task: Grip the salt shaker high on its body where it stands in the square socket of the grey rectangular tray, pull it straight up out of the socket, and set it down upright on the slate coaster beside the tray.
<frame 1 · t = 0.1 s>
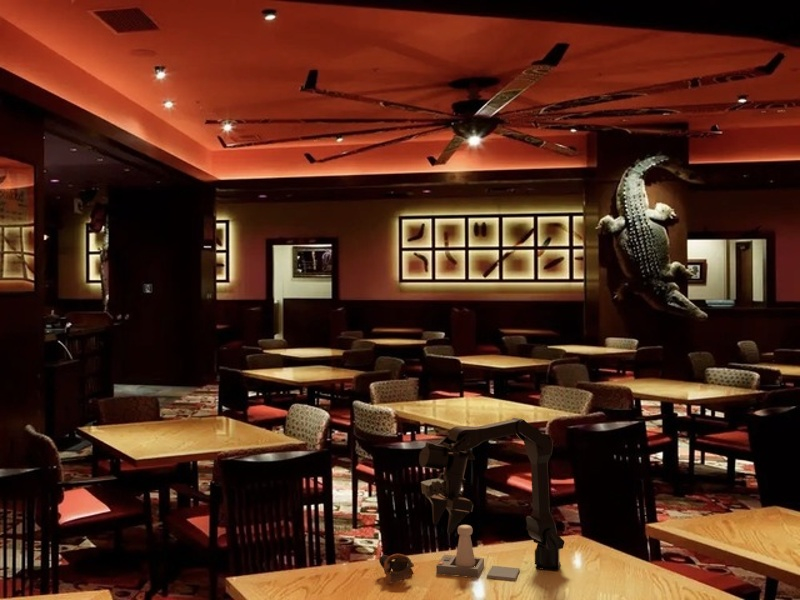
hand: (442, 528, 218), 15 cm above the table, tool pointing down, fingers open, 9 cm apart
pottery mug: (396, 580, 222), on the table
grey rectangular tray: (460, 570, 229), on the table
salt shaker: (465, 571, 229), resting in grey rectangular tray
slate coaster: (503, 574, 225), on the table
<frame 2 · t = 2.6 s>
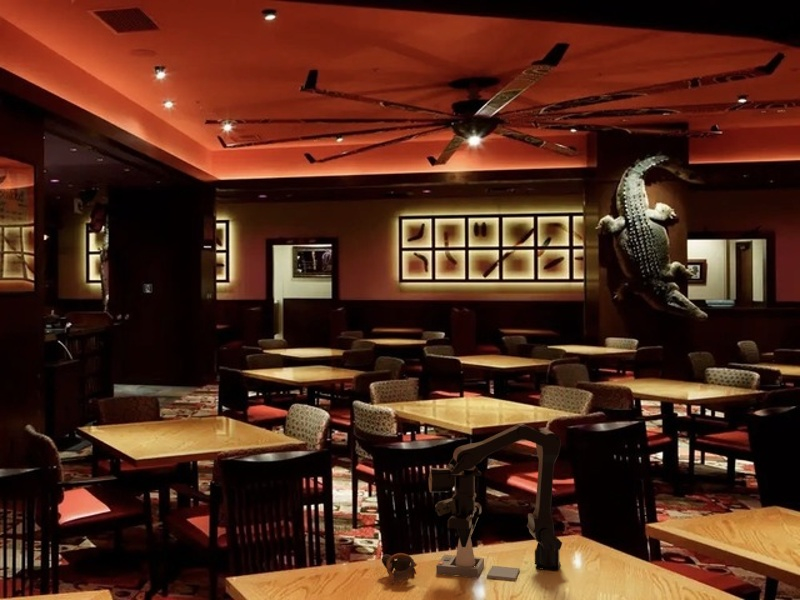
hand: (465, 544, 229), 8 cm above the table, tool pointing down, fingers closed on salt shaker, 4 cm apart
salt shaker: (465, 571, 229), resting in grey rectangular tray, touching gripper
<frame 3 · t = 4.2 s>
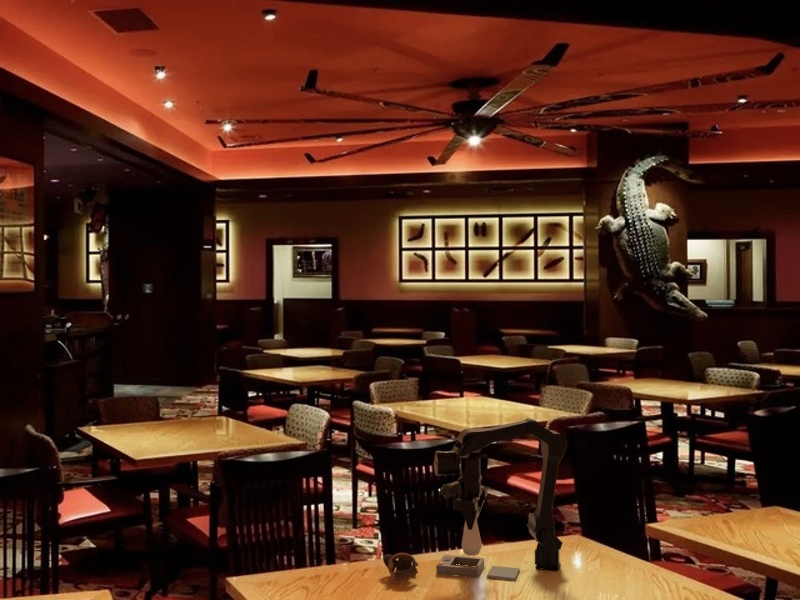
hand: (471, 527, 228), 13 cm above the table, tool pointing down, fingers closed on salt shaker, 4 cm apart
salt shaker: (471, 554, 228), point 5 cm above the table, touching gripper
when the fingers open (9 cm above the table, at t = 6.2 s): salt shaker stays where it is, resting on slate coaster.
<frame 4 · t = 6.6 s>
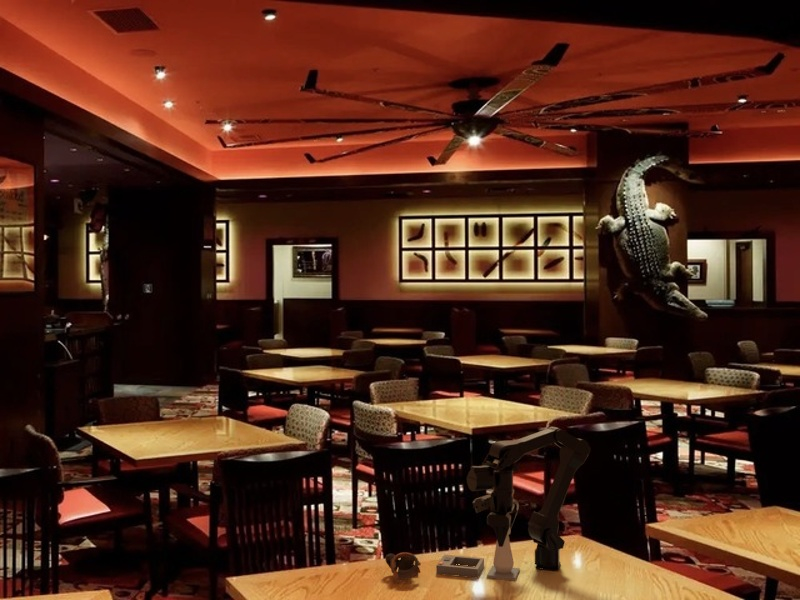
hand: (503, 541, 225), 9 cm above the table, tool pointing down, fingers open, 8 cm apart
salt shaker: (503, 572, 225), point 1 cm above the table, touching slate coaster
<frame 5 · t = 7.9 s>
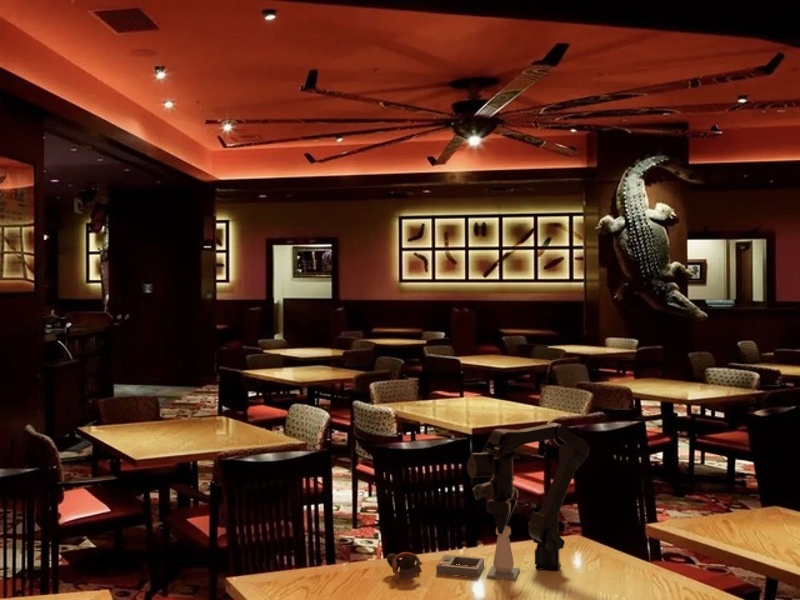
hand: (503, 529, 225), 13 cm above the table, tool pointing down, fingers open, 9 cm apart
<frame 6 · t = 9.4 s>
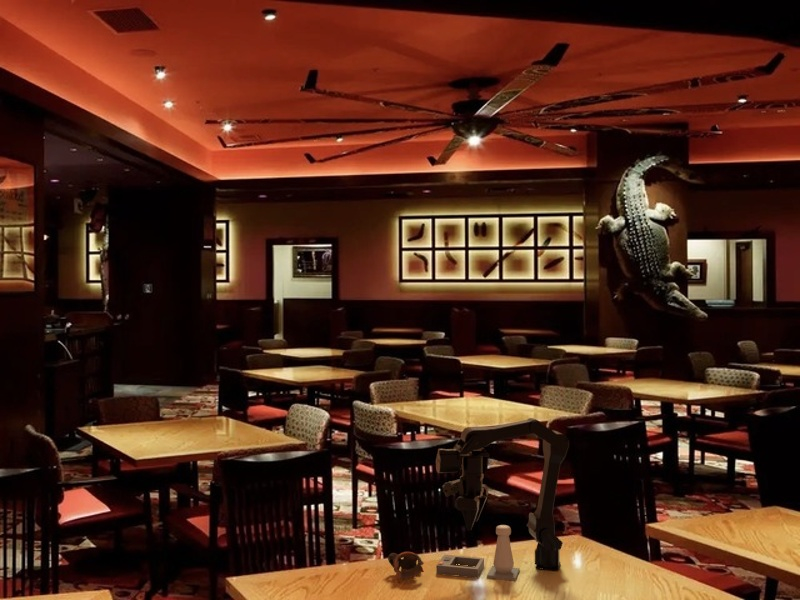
hand: (472, 525, 228), 13 cm above the table, tool pointing down, fingers open, 9 cm apart
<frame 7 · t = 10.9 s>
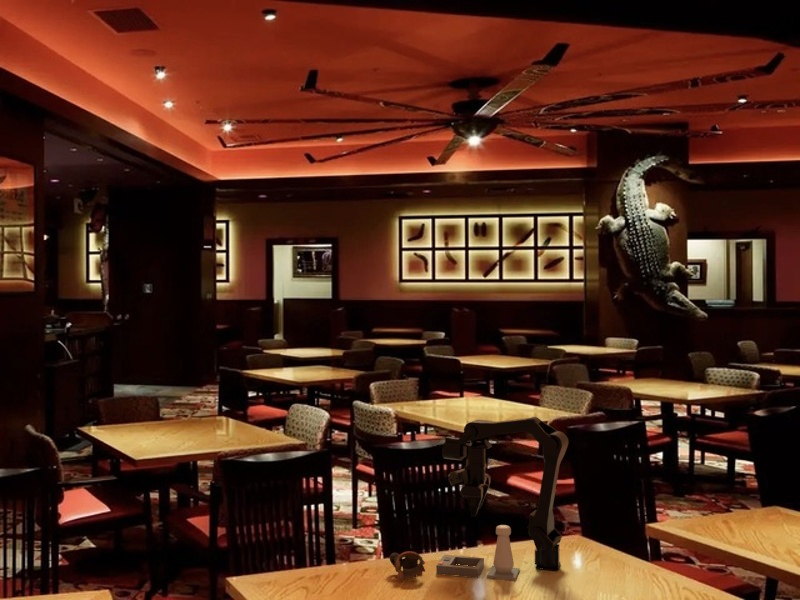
hand: (476, 512, 242), 13 cm above the table, tool pointing down, fingers open, 9 cm apart
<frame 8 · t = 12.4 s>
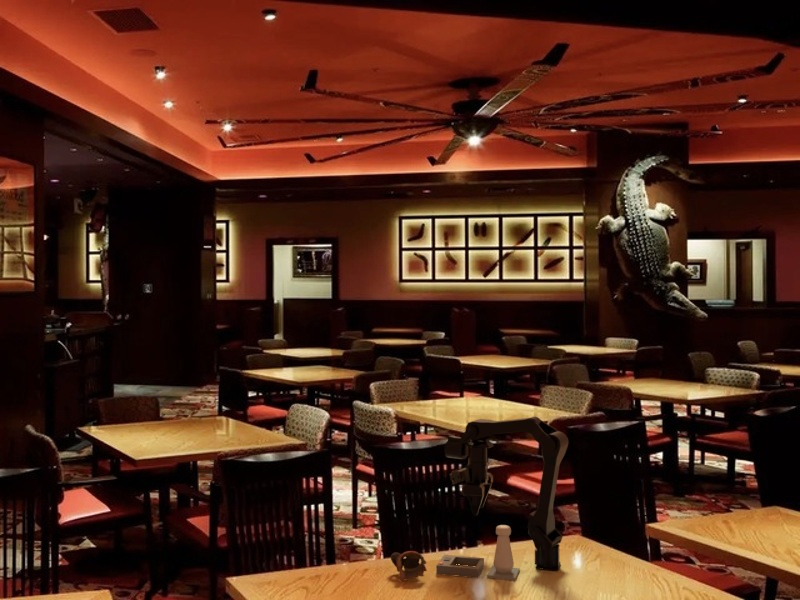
hand: (478, 511, 244), 13 cm above the table, tool pointing down, fingers open, 9 cm apart
at the end: salt shaker 0.1 cm off-centre on the slate coaster, point 0.6 cm above the slate coaster's base; salt shaker tilted 0°; the gripper is holding nothing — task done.
